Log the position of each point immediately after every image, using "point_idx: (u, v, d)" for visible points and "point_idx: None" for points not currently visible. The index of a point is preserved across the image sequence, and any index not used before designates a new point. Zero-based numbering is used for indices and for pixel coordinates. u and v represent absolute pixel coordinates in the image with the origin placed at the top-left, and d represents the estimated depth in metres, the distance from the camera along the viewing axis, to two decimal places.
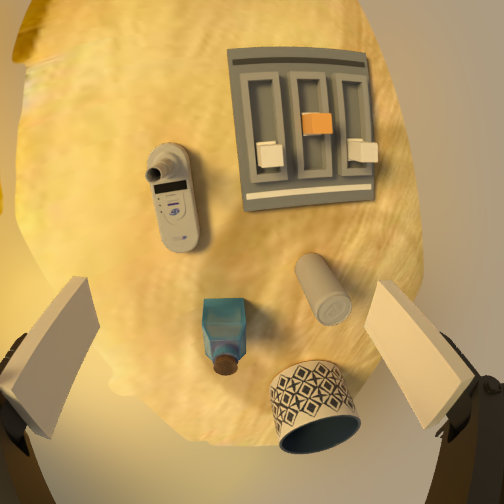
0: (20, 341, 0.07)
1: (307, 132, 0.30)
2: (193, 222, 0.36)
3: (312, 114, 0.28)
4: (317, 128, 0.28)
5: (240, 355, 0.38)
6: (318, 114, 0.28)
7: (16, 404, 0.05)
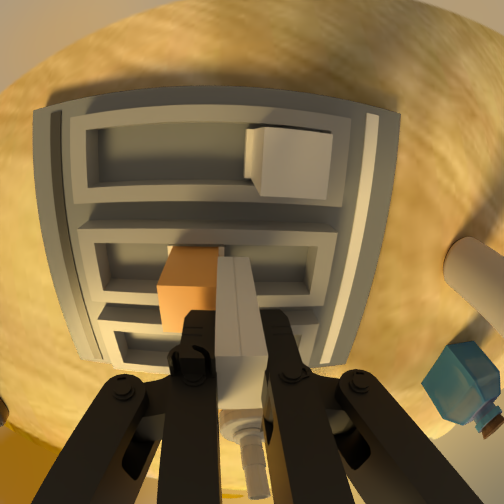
0: (192, 318, 0.10)
1: None
2: None
3: (167, 329, 0.11)
4: None
5: (498, 390, 0.18)
6: (164, 317, 0.11)
7: (228, 375, 0.08)
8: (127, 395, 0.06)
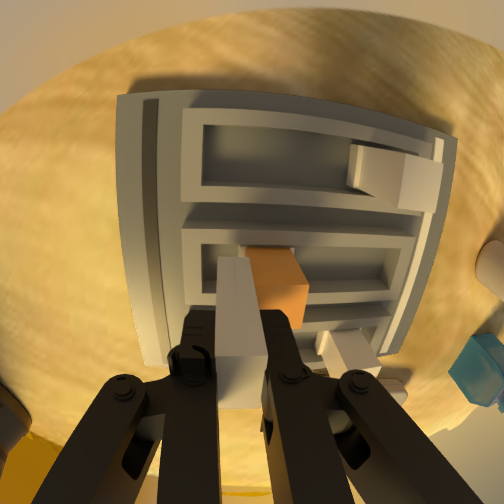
0: (192, 318, 0.10)
1: None
2: (391, 395, 0.23)
3: None
4: (290, 318, 0.12)
5: None
6: None
7: (229, 375, 0.08)
8: (127, 395, 0.06)
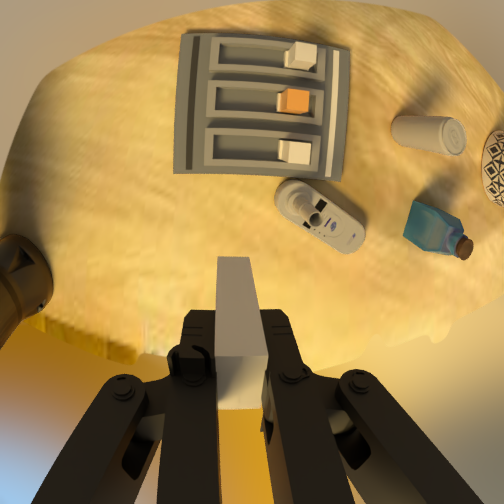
0: (192, 318, 0.10)
1: (302, 112, 0.29)
2: (351, 220, 0.37)
3: (288, 107, 0.27)
4: (303, 105, 0.27)
5: (461, 227, 0.33)
6: (288, 101, 0.26)
7: (229, 375, 0.08)
8: (127, 395, 0.06)
